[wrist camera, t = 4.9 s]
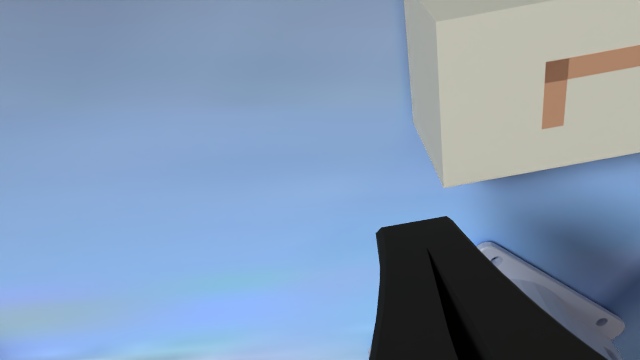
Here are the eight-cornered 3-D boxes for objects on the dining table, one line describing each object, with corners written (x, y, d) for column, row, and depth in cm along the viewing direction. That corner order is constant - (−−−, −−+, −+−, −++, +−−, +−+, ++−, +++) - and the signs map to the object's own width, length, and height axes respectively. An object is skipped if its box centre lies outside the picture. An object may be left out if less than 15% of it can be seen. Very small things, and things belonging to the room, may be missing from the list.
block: (402, -22, 18) (666, -72, 17) (413, 123, 20) (641, 81, 20) (436, 22, 14) (763, -39, 14) (443, 188, 17) (717, 138, 17)
